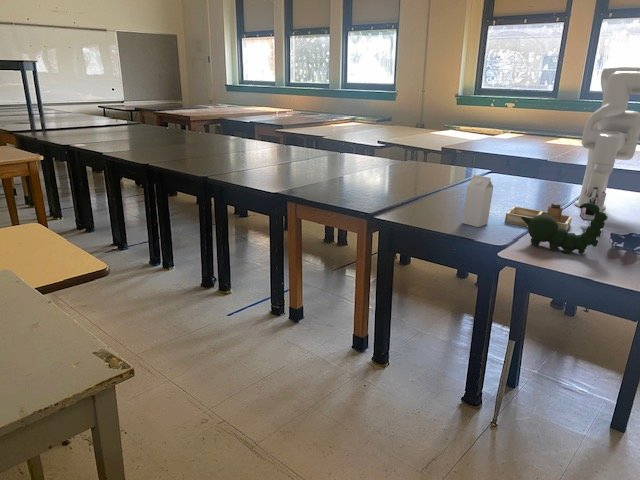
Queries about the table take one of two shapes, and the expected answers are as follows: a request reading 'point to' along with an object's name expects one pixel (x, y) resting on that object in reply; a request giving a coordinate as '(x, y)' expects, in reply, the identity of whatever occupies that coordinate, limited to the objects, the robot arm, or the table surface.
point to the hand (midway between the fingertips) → (591, 211)
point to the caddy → (553, 211)
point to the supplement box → (599, 203)
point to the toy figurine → (565, 231)
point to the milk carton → (478, 201)
